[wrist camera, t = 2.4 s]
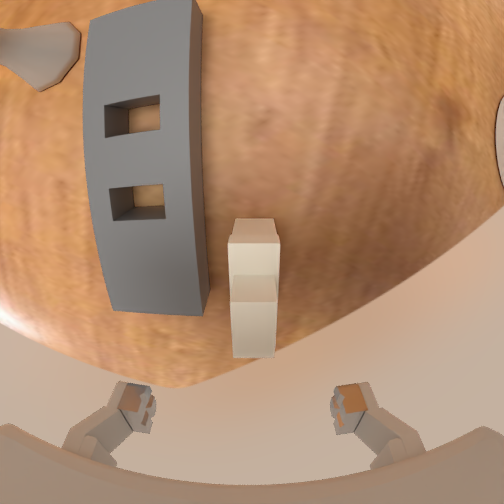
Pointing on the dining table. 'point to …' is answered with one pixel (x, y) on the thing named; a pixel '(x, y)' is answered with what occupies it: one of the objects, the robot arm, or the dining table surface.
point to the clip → (254, 286)
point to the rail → (147, 156)
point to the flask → (40, 52)
